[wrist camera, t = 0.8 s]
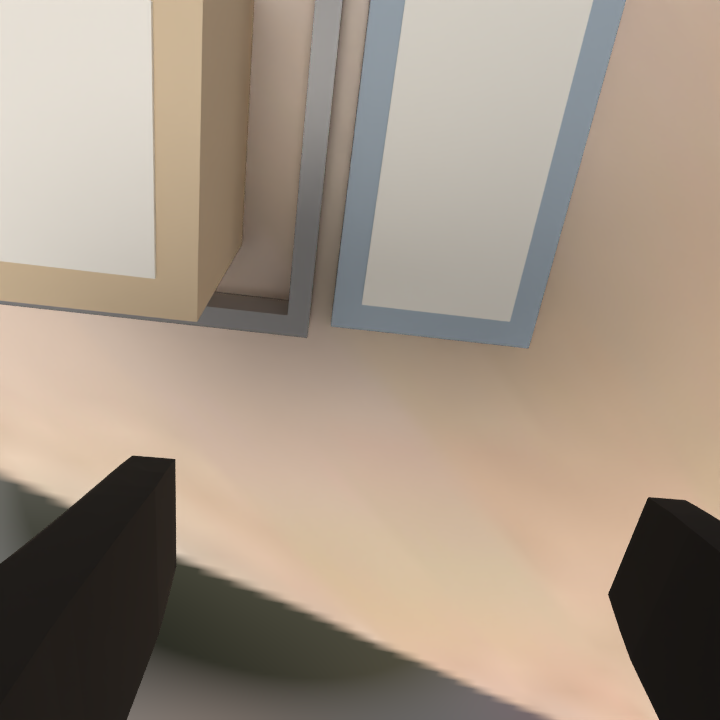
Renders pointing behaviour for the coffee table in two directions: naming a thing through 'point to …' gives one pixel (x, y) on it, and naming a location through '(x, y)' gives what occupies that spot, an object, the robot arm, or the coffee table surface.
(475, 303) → the pad
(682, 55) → the coffee table surface
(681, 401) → the coffee table surface
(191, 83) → the box
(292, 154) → the coffee table surface
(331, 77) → the grey square frame
